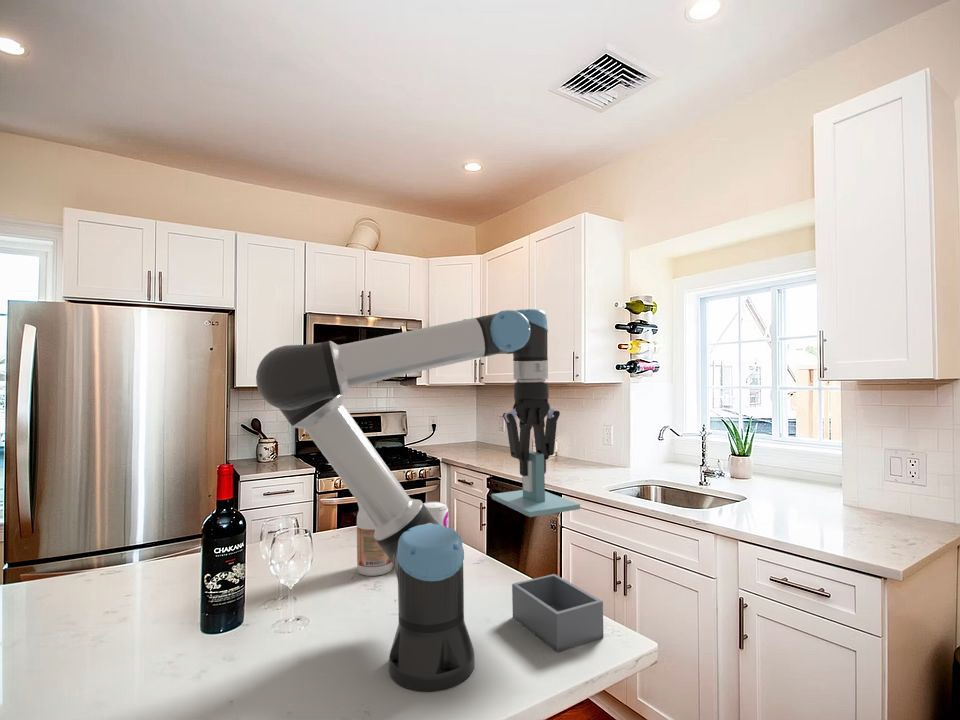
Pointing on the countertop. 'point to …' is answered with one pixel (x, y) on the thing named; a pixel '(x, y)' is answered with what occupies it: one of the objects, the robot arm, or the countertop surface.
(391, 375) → the robot arm
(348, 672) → the countertop surface
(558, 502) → the lid
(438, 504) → the supplement can
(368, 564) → the fruit juice
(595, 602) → the parts tub
